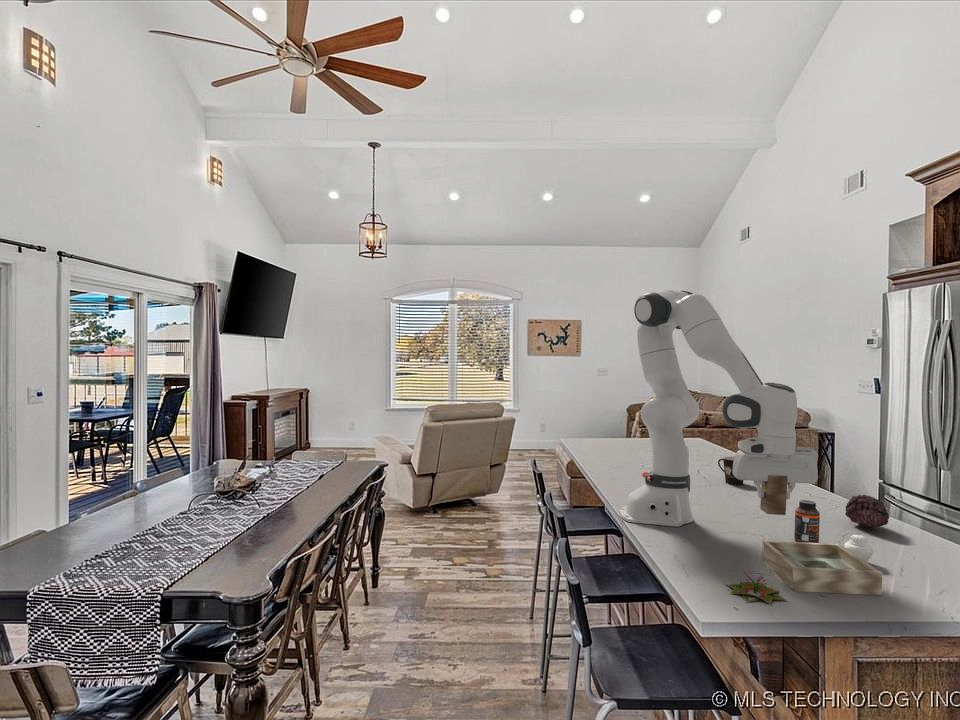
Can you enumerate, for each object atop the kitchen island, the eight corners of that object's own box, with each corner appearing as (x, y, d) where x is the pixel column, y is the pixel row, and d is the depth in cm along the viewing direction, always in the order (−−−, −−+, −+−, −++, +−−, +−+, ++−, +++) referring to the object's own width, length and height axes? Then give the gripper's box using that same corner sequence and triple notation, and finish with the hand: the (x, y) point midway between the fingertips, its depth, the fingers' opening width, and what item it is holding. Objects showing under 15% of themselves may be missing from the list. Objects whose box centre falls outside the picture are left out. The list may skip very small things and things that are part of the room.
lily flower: (799, 607, 116) (799, 585, 116) (744, 609, 115) (744, 587, 115) (764, 583, 128) (765, 563, 128) (714, 584, 127) (715, 564, 127)
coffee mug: (750, 486, 219) (750, 460, 218) (728, 485, 219) (728, 460, 219) (736, 479, 230) (737, 455, 230) (715, 478, 230) (716, 455, 230)
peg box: (794, 590, 122) (795, 568, 122) (761, 560, 140) (762, 540, 140) (881, 595, 121) (882, 572, 120) (837, 563, 138) (837, 543, 138)
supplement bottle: (810, 547, 150) (811, 505, 150) (789, 540, 156) (790, 500, 155) (823, 543, 153) (824, 502, 153) (802, 537, 158) (803, 497, 158)
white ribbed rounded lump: (845, 555, 144) (845, 529, 144) (874, 561, 140) (874, 534, 140) (842, 562, 139) (842, 535, 139) (872, 568, 135) (872, 540, 135)
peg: (767, 514, 143) (769, 475, 143) (760, 508, 148) (762, 471, 147) (785, 515, 143) (787, 476, 142) (778, 509, 147) (779, 472, 147)
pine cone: (902, 539, 157) (902, 504, 157) (863, 537, 159) (864, 502, 159) (869, 520, 175) (870, 489, 174) (835, 518, 176) (835, 487, 176)
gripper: (812, 445, 147) (809, 497, 147) (731, 441, 149) (729, 492, 149) (824, 450, 140) (821, 504, 141) (740, 446, 142) (737, 499, 143)
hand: (773, 498), depth 145 cm, fingers closed on peg, 4 cm apart
